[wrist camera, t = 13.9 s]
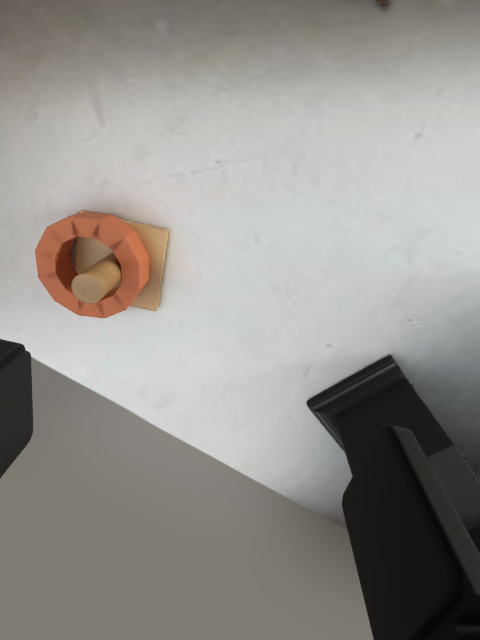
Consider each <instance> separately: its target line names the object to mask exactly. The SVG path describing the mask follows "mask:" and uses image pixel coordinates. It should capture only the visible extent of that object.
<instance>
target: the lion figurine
mask: <svg viewBox="0 0 480 640" xmlns="http://www.w3.org/2000/svg"><path fill="white" fill-rule="evenodd" d="M377 2H378V3H380V5H381V6H382V7H383V8H387V7H388V6H389V4H390V0H377Z"/></svg>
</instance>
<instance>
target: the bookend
mask: <svg viewBox="0 0 480 640" xmlns="http://www.w3.org/2000/svg"><path fill="white" fill-rule="evenodd" d="M307 406H308V407H309V409H310V410H311V411H312V413H313V414H314V415H315V416H316V417H317V419H318V420H319V421H320V423H321V424H322V425H323V426H324V427H325V429H326V430H327V431H328V432H329V433H330V435H331V436H332V437H333V438H334V439H335V441H336V442H337V443H338V444H339V446H340V447H341V448H342V449H343V451H344V452H345V453H346V456H347V460H348V463H349V466H350V469H351V472H352V476H353V475H354V473H355V471H356V470H357V468H358V466H359V464H360V462H361V460H362V458H363V456H364V454H365V453H366V451H367V449H368V447H369V445H370V443H371V441H372V439H373V438H374V436H375V434H376V432H377V431H378V430H379V429H383V428H384V427H385V426H387V425H392V426H397V427H401V428H406V429H409V430H411V431H412V433H413V434H414V436H415V438H416V439H417V441H418V443H419V445H420V447H421V448H422V450H423V452H424V454H425V456H426V457H427V459H428V461H429V463H430V465H431V466H432V468H433V470H434V472H435V474H436V475H437V477H438V479H439V481H440V483H441V485H442V486H443V488H444V490H445V492H446V494H447V495H448V497H449V499H450V501H451V503H452V504H453V506H454V508H455V510H456V512H457V513H458V515H459V517H460V519H461V521H462V522H463V524H464V526H465V528H466V530H467V531H468V533H469V535H470V537H471V539H472V540H473V542H474V544H475V546H476V548H477V549H478V551H479V553H480V483H479V481H478V480H477V478H476V477H475V475H474V474H473V472H472V471H471V469H470V468H469V466H468V465H467V463H466V462H465V460H464V459H463V457H462V456H461V454H460V453H459V451H458V450H457V448H456V447H455V446H454V444H453V443H452V441H451V440H450V438H449V437H448V436H447V434H446V433H445V431H444V430H443V429H442V427H441V426H440V424H439V423H438V422H437V420H436V419H435V417H434V416H433V415H432V413H431V412H430V410H429V409H428V408H427V406H426V405H425V403H424V402H423V401H422V399H421V398H420V396H419V395H418V394H417V392H416V391H415V389H414V388H413V385H412V384H410V382H409V380H408V379H407V378H406V377H405V375H404V373H403V372H402V370H401V369H400V367H399V366H398V364H397V363H396V362H395V360H394V359H393V358H392V356H390V355H389V356H387V357H385V358H383V359H382V360H380V361H378V362H376V363H374V364H373V365H371V366H369V367H367V368H366V369H364V370H362V371H360V372H358V373H357V374H355V375H353V376H351V377H349V378H347V379H346V380H344V381H342V382H340V383H339V384H337V385H335V386H333V387H332V388H330V389H328V390H326V391H324V392H323V393H321V394H319V395H317V396H315V397H314V398H312V399H310V400H309V401H307Z"/></svg>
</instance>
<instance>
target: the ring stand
mask: <svg viewBox="0 0 480 640" xmlns="http://www.w3.org/2000/svg"><path fill="white" fill-rule="evenodd" d="M81 212H85V210H80V211H77V214H78V213H81ZM118 219H120V218H118ZM120 220H121V221H123V222H124V223H126V224H127V225H128V226H130V227H131V228H133V229H134V230H135V231H136V232H137V234H138V236H139V238H140V240H141V241H142V243H143V245H144V247H145V249H146V251H147V252H148V255H149V279H148V281H147V282H146V284H145V285H144V287H143V288H142V290H141V291H140V293H139V294H138V296H137V297H136V299H135V300H134V301H133V302H132V303H131V305H130V306H133V307H138V308H142V309H147V310H152V311H157V309H158V307H159V299H160V292H161V285H162V278H163V270H164V263H165V256H166V249H167V241H168V234H169V230H168V229H163V228H159V227H155V226H150V225H146V224H142V223H137V222H133V221H129V220H124V219H120ZM76 272H77V274H78V275H77V276H76V277H75V278H74V279H73V281H72V284H71V288H72V292H73V294H74V295H75V297H76V298H77V299H79V300H80V301H82V302H84V303H88V304H92V303H96V302H98V301H99V300H100V299H101V298H103V297H104V296H105V295H106V294H107V293H108V292H109V291H111V290H113V289H116V288H118V287H119V286H120V284H121V264H120V263H119V261H118V259H117V258H116V256H115V254H114V252H113V251H112V249H110V248H109V247H107V246H106V245H104V244H103V243H101V242H100V241H98V240H97V239H95V238H87V237H79V236H78V237H77V240H76Z"/></svg>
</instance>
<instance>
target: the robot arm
mask: <svg viewBox="0 0 480 640" xmlns="http://www.w3.org/2000/svg"><path fill="white" fill-rule="evenodd" d="M32 433H33V407H32V376H31V354H30V352H28V351H26V350H25V347H24V345H22V344H19V343H15V342H10V341H6V340H1V339H0V478H1V477H2V475H3V474H4V473H5V472H6V470H7V469H8V468H9V466H10V465H11V464H12V463H13V461H14V460H15V459H16V458H17V456H18V455H19V454H20V453H21V451H22V450H23V449H24V448H25V446H26V445H27V444H28V442H29V441H30V439H31V436H32ZM342 508H343V512H344V516H345V521H346V525H347V529H348V533H349V537H350V542H351V546H352V550H353V554H354V558H355V563H356V567H357V571H358V575H359V579H360V583H361V587H362V592H363V596H364V601H365V605H366V609H367V613H368V617H369V622H370V626H371V630H372V634H373V638H374V640H480V553H479V551H478V549H477V548H476V546H475V544H474V542H473V540H472V539H471V537H470V535H469V533H468V531H467V530H466V528H465V526H464V524H463V522H462V521H461V519H460V517H459V515H458V513H457V512H456V510H455V508H454V506H453V504H452V503H451V501H450V499H449V497H448V495H447V494H446V492H445V490H444V488H443V486H442V485H441V483H440V481H439V479H438V477H437V475H436V474H435V472H434V470H433V468H432V466H431V465H430V463H429V461H428V459H427V457H426V456H425V454H424V452H423V450H422V448H421V447H420V445H419V443H418V441H417V439H416V438H415V436H414V434H413V433H412V431H411V430H409V429H406V428H401V427H397V426H392V425H387V426H385V427H384V428H383V429H379V430H378V431H377V432H376V434H375V436H374V438H373V439H372V441H371V443H370V445H369V447H368V449H367V451H366V453H365V454H364V456H363V458H362V460H361V462H360V464H359V466H358V468H357V470H356V471H355V473H354V475H353V477H352V479H351V481H350V483H349V485H348V486H347V488H346V490H345V492H344V494H343V498H342Z"/></svg>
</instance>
